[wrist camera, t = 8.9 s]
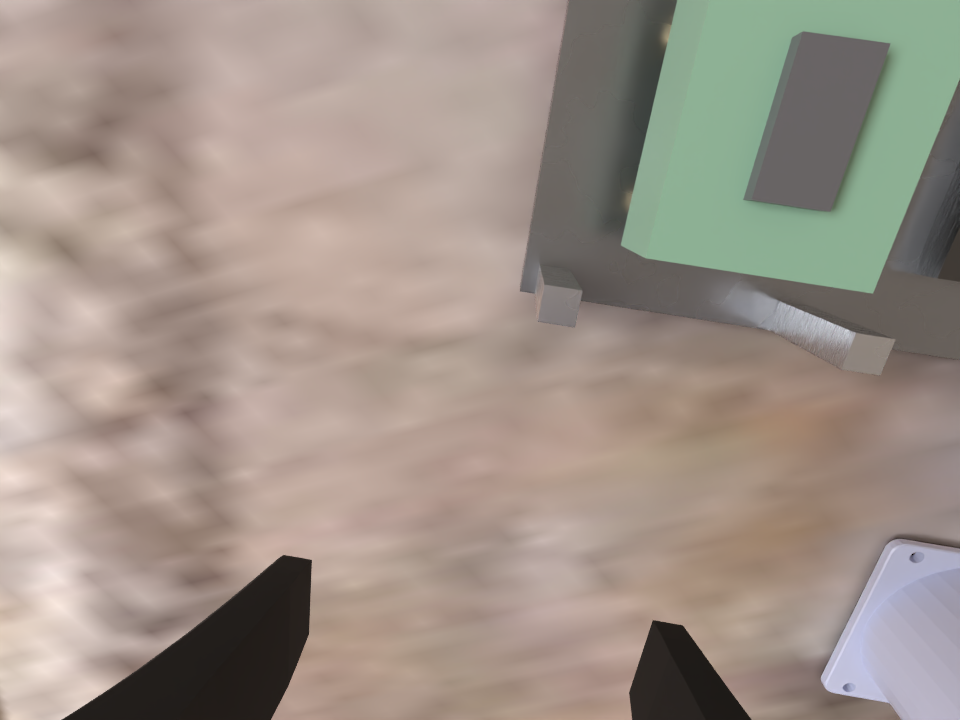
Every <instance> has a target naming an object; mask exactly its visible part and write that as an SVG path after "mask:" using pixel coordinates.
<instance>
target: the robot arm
mask: <svg viewBox="0 0 960 720" xmlns="http://www.w3.org/2000/svg"><path fill="white" fill-rule="evenodd" d="M915 552H916V553H915ZM913 553H915V554H914V555H912V554H913ZM911 555H912V556H911ZM311 565H312V560H309V559H303V558H298V557H292V556H286V555H283V556H282V557H280V558H278V559H277V560H276V561H275V562H274V563H273V564H271V565H270V566H269V567H268V568H267V569H265V570H264V571H263V572H262V573H261V574H260V575H258V576H257V577H256V578H255V579H254V580H252V581H251V582H250V583H249V584H248V585H247V586H245V587H244V588H243V589H242V590H241V591H239V592H238V593H237V594H236V595H235V596H233V597H232V598H231V599H230V600H228V601H227V602H226V603H225V604H224V605H222V606H221V607H220V608H219V609H217V610H216V611H215V612H214V613H212V614H211V615H210V616H208V617H207V618H206V619H205V620H203V621H202V622H201V623H200V624H198V625H197V626H196V627H195V628H193V629H192V630H191V631H190V632H188V633H187V634H186V635H184V636H183V637H182V638H180V639H179V640H178V641H176V642H175V643H174V644H172V645H171V646H169V647H168V648H167V649H165V650H164V651H163V652H161V653H160V654H159V655H157V656H156V657H154V658H153V659H152V660H150V661H149V662H148V663H146V664H145V665H143V666H142V667H141V668H139V669H138V670H137V671H135V672H134V673H132V674H131V675H129V676H128V677H126V678H125V679H123V680H122V681H121V682H119V683H118V684H116V685H115V686H113V687H112V688H110V689H109V690H107V691H106V692H104V693H103V694H101V695H100V696H98V697H97V698H95V699H93V700H92V701H90V702H89V703H87V704H86V705H84V706H83V707H81V708H80V709H78V710H76V711H75V712H73V713H72V714H70V715H69V716H67V717H65V718H64V719H62V720H271V718H272V716H273V714H274V713H275V711H276V709H277V707H278V705H279V703H280V701H281V699H282V697H283V695H284V693H285V691H286V689H287V687H288V685H289V683H290V680H291V678H292V675H293V673H294V670H295V668H296V666H297V663H298V661H299V658H300V656H301V653H302V650H303V648H304V645H305V643H306V640H307V638H308V635H309V617H310V591H311ZM821 681H822V683H823V685H824V687H825V688H826V689H827V690H828V691H829V692H832V693H837V694H843V695H848V696H854V697H859V698H865V699H871V700H876V701H882V702H887V703H890V704H891V706H892V707H893V708H894V710H895V711H896V712H897V714H898V715H899V717H900V718H901V719H902V720H960V549H959V548H953V547H947V546H941V545H935V544H929V543H923V542H918V541H912V540H906V539H896V540H892V541H890V542H889V543H888V544H887V545H886V546H885V548H884V550H883V552H882V554H881V556H880V558H879V560H878V562H877V564H876V566H875V568H874V570H873V572H872V574H871V576H870V578H869V580H868V582H867V584H866V587H865V589H864V591H863V593H862V595H861V597H860V599H859V601H858V603H857V605H856V607H855V609H854V611H853V613H852V615H851V617H850V619H849V621H848V623H847V625H846V627H845V629H844V631H843V633H842V635H841V637H840V639H839V641H838V643H837V645H836V647H835V649H834V651H833V654H832V656H831V658H830V660H829V662H828V664H827V666H826V668H825V670H824V672H823V674H822V676H821ZM629 694H630V703H631V712H632V720H751V718H750V717H749V716H748V714H747V713H746V712H745V710H744V709H743V708H742V706H741V705H740V704H739V702H738V701H737V700H736V698H735V697H734V696H733V694H732V693H731V692H730V690H729V689H728V687H727V686H726V685H725V683H724V682H723V681H722V679H721V678H720V676H719V675H718V674H717V672H716V671H715V670H714V668H713V667H712V665H711V664H710V663H709V661H708V660H707V658H706V657H705V656H704V654H703V653H702V651H701V650H700V649H699V647H698V646H697V644H696V643H695V642H694V640H693V639H692V638H691V636H690V635H689V633H688V632H687V631H686V629H685V628H684V627H683V625H677V624H671V623H666V622H660V621H654V620H653V622H652V625H651V628H650V631H649V634H648V637H647V640H646V643H645V646H644V649H643V652H642V655H641V658H640V661H639V664H638V667H637V671H636V674H635V677H634V680H633V683H632V686H631V689H630V692H629Z"/></svg>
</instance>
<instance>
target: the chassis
mask: <svg viewBox="0 0 960 720" xmlns="http://www.w3.org/2000/svg"><path fill="white" fill-rule="evenodd" d="M676 4H677V0H568V6H567V12H566V18H565V23H564V29H563V35H562V41H561V47H560V53H559V59H558V65H557V71H556V77H555V83H554V89H553V95H552V101H551V107H550V112H549V118H548V124H547V130H546V136H545V142H544V148H543V154H542V160H541V166H540V172H539V178H538V184H537V190H536V195H535V201H534V207H533V213H532V219H531V225H530V231H529V237H528V243H527V249H526V255H525V261H524V267H523V273H522V279H521V284H520V291H522V292H528V293H534V294H535V303H536V312H537V321H538V322H543V323H549V324H556V325H562V326H568V327H575V325H576V320H577V315H578V310H579V306H580V301H586V302H592V303H598V304H605V305H611V306H618V307H624V308H630V309H637V310H643V311H650V312H656V313H663V314H669V315H675V316H682V317H688V318H695V319H701V320H707V321H714V322H720V323H727V324H733V325H739V326H746V327H752V328H759V329H765V330H770V331H772V332H774V333H776V334H777V335H779V336H781V337H783V338H785V339H787V340H788V341H790V342H792V343H794V344H796V345H797V346H799V347H801V348H803V349H805V350H807V351H808V352H810V353H812V354H814V355H816V356H817V357H819V358H821V359H823V360H825V361H827V362H828V363H830V364H832V365H834V366H836V367H837V368H839V369H841V370H847V371H853V372H860V373H866V374H872V375H879V376H880V375H881V372H882V370H883V368H884V366H885V363H886V361H887V359H888V356H889V354H890V352H891V349H893V350H900V351H906V352H912V353H919V354H925V355H932V356H938V357H945V358H951V359H957V360H960V80H959V82H958V85H957V87H956V89H955V92H954V94H953V97H952V99H951V102H950V104H949V107H948V109H947V112H946V114H945V117H944V119H943V122H942V124H941V127H940V129H939V131H938V134H937V136H936V139H935V141H934V144H933V146H932V149H931V151H930V154H929V156H928V159H927V161H926V164H925V166H924V169H923V171H922V173H921V176H920V178H919V181H918V183H917V186H916V188H915V191H914V193H913V196H912V198H911V201H910V203H909V206H908V208H907V210H906V213H905V215H904V218H903V220H902V223H901V225H900V228H899V230H898V233H897V235H896V238H895V240H894V243H893V245H892V248H891V250H890V252H889V255H888V257H887V260H886V262H885V265H884V267H883V270H882V272H881V275H880V277H879V280H878V282H877V285H876V287H875V290H874V292H873V294H872V293H866V292H860V291H853V290H847V289H840V288H834V287H827V286H821V285H814V284H808V283H802V282H795V281H789V280H782V279H776V278H769V277H763V276H756V275H750V274H744V273H737V272H731V271H724V270H718V269H711V268H705V267H698V266H692V265H686V264H679V263H673V262H666V261H660V260H653V259H647V258H644V257H642V256H640V255H638V254H636V253H634V252H633V251H631V250H629V249H627V248H625V247H623V246H621V242H622V237H623V233H624V229H625V224H626V220H627V216H628V211H629V207H630V203H631V198H632V194H633V190H634V185H635V181H636V177H637V173H638V168H639V164H640V160H641V155H642V151H643V147H644V142H645V138H646V134H647V129H648V125H649V121H650V116H651V112H652V108H653V103H654V99H655V95H656V90H657V86H658V82H659V77H660V73H661V69H662V64H663V60H664V56H665V51H666V47H667V43H668V38H669V34H670V30H671V25H672V21H673V17H674V12H675V8H676Z"/></svg>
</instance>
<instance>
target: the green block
mask: <svg viewBox="0 0 960 720" xmlns="http://www.w3.org/2000/svg"><path fill="white" fill-rule="evenodd" d="M959 80H960V0H677V4H676V8H675V12H674V17H673V21H672V25H671V30H670V34H669V38H668V43H667V47H666V51H665V56H664V60H663V64H662V69H661V73H660V77H659V82H658V86H657V90H656V95H655V99H654V103H653V108H652V112H651V116H650V121H649V125H648V129H647V134H646V138H645V142H644V147H643V151H642V155H641V160H640V164H639V168H638V173H637V177H636V181H635V185H634V190H633V194H632V198H631V203H630V207H629V211H628V216H627V220H626V224H625V229H624V233H623V237H622V242H621V246H623V247H625V248H627V249H629V250H631V251H633V252H634V253H636V254H638V255H640V256H642V257H644V258H647V259H653V260H660V261H666V262H673V263H679V264H686V265H692V266H698V267H705V268H711V269H718V270H724V271H731V272H737V273H744V274H750V275H756V276H763V277H769V278H776V279H782V280H789V281H795V282H802V283H808V284H814V285H821V286H827V287H834V288H840V289H847V290H853V291H860V292H866V293H872V294H873V292H874V290H875V287H876V285H877V282H878V280H879V277H880V275H881V272H882V270H883V267H884V265H885V262H886V260H887V257H888V255H889V252H890V250H891V248H892V245H893V243H894V240H895V238H896V235H897V233H898V230H899V228H900V225H901V223H902V220H903V218H904V215H905V213H906V210H907V208H908V206H909V203H910V201H911V198H912V196H913V193H914V191H915V188H916V186H917V183H918V181H919V178H920V176H921V173H922V171H923V169H924V166H925V164H926V161H927V159H928V156H929V154H930V151H931V149H932V146H933V144H934V141H935V139H936V136H937V134H938V131H939V129H940V127H941V124H942V122H943V119H944V117H945V114H946V112H947V109H948V107H949V104H950V102H951V99H952V97H953V94H954V92H955V89H956V87H957V85H958V82H959Z"/></svg>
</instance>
